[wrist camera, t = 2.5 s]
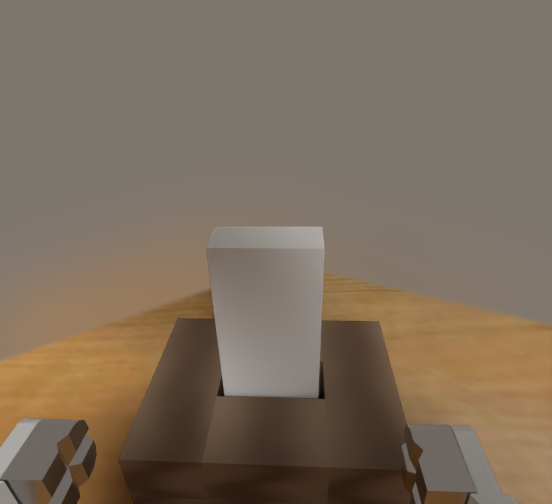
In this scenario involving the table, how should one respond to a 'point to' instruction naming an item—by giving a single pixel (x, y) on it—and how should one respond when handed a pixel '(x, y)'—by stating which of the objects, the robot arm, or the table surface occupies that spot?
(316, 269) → the tall white pillar
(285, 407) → the slotted box
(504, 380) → the table surface
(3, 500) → the robot arm
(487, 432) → the table surface
